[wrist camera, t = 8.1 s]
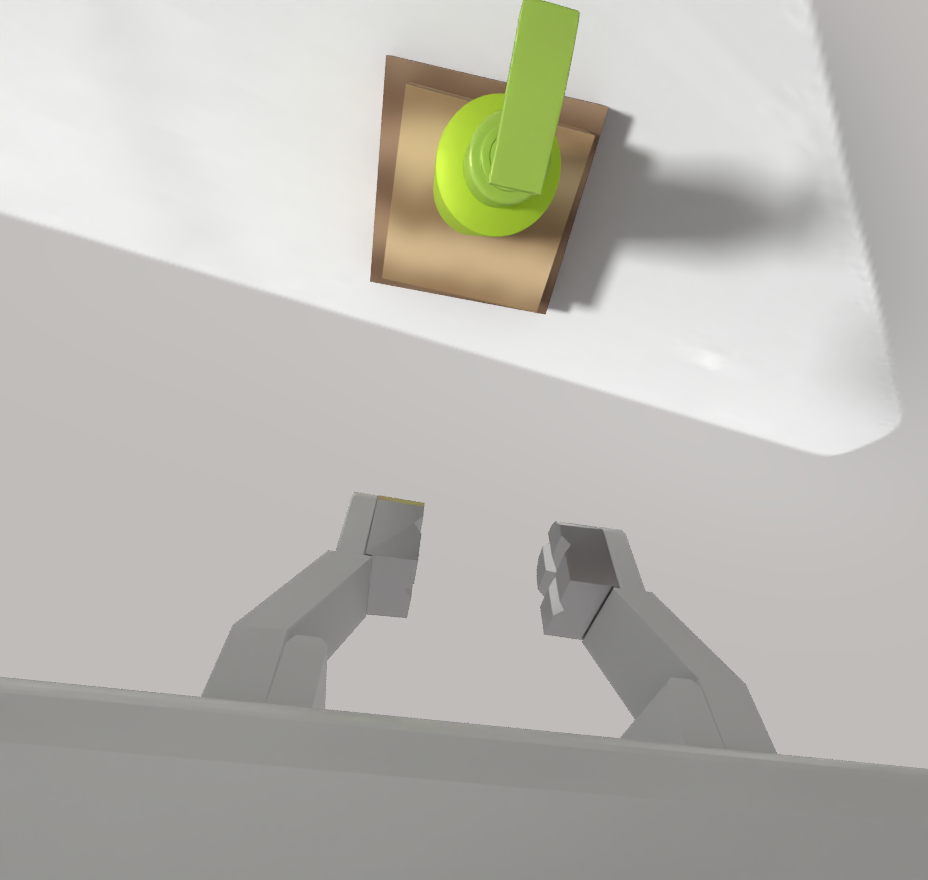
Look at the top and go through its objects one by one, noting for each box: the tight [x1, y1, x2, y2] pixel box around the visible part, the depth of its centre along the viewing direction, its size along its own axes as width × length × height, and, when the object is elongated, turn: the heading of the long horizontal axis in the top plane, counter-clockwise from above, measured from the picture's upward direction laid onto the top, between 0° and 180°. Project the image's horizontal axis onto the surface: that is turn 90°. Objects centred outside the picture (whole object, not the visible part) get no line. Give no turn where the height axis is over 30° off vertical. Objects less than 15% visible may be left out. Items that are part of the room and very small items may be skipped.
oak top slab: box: [382, 82, 595, 313], centre depth 38 cm, size 13×13×4 cm
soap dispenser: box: [433, 0, 580, 237], centre depth 26 cm, size 6×7×20 cm
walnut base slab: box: [370, 55, 608, 314], centre depth 41 cm, size 16×16×4 cm
